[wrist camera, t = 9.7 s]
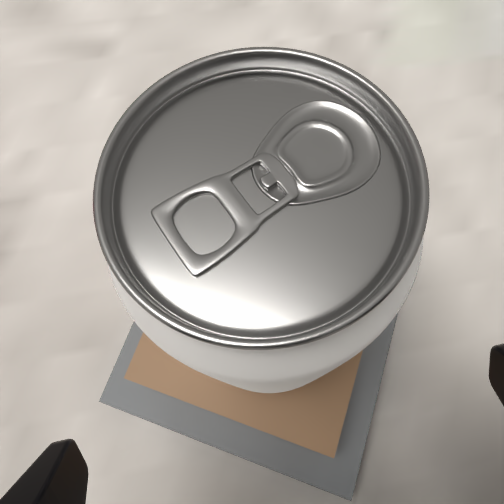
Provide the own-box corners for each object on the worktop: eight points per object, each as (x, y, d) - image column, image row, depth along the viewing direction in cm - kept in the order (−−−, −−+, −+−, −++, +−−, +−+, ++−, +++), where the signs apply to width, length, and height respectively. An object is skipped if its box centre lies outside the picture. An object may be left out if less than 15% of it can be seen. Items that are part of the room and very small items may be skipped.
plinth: (405, 256, 23) (430, 228, 19) (345, 493, 20) (362, 515, 16) (199, 194, 25) (185, 158, 21) (110, 401, 22) (75, 401, 18)
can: (376, 333, 18) (547, 217, 7) (249, 427, 17) (197, 479, 6) (285, 217, 20) (298, -24, 9) (166, 296, 19) (4, 142, 8)
